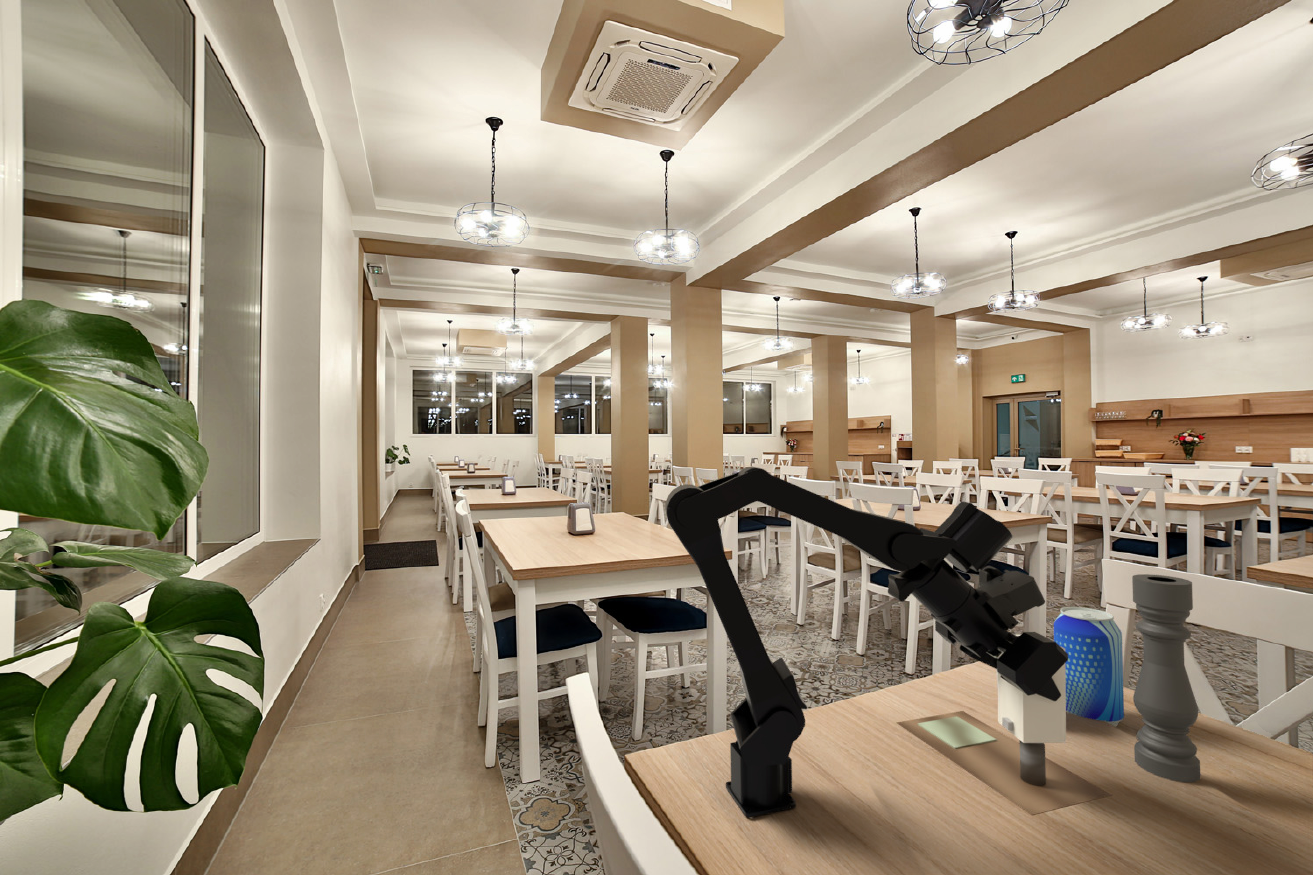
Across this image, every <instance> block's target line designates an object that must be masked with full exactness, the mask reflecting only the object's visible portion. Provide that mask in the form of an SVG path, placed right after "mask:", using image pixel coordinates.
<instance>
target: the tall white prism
mask: <svg viewBox="0 0 1313 875" xmlns="http://www.w3.org/2000/svg"><path fill="white" fill-rule="evenodd" d="M1015 635H1016V636H1020V635H1021V634H1015ZM1008 642H1009V641H1008ZM1060 647H1061V646H1060ZM1061 648H1062V649H1063V650H1064V651H1065V648H1063V647H1061ZM997 649H998V648H997ZM998 650H999V649H998ZM1000 651H1001V650H1000ZM1001 652H1002V653H1001V654H1000V655H999V657H1000V656H1001V655H1002V654H1003V653H1004V652H1003V651H1001ZM999 657H998V658H999ZM1000 676H1001V675H1000V674H999V673H998V687H997V723H998V724H1000V725H1001V726H1002V727H1004V728H1005V729H1006V730H1007V731H1009V733H1011V734H1012V735H1013V736H1014V737H1015V738H1016V739H1018V740H1020V741H1022V742H1023V743H1044V744H1066V743H1067V711H1066V674H1065V664H1064V665H1063V666H1062V667H1061V668H1060V669H1059V670H1058V671H1057V672H1056V673H1055V674H1054V675H1053V676H1052V679H1053V680H1054V682H1055V684H1056V686H1057V688H1058V690H1059V691H1060V693H1061V697H1060V698H1059V699H1058V700H1057V701H1052V700H1050V699H1047V698H1045V697H1042V696H1040V695H1037V694H1034V695H1029V696H1028V695H1026V694H1025V693H1023V692H1022V691H1020V690H1019V689H1017V688H1016V687H1014V686H1013V685H1011V684H1010V683H1008V682H1007V681H1005V680H1004V679H1002V678H1001V677H1000Z"/></svg>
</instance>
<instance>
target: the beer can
mask: <svg viewBox="0 0 1313 875" xmlns="http://www.w3.org/2000/svg"><path fill="white" fill-rule="evenodd" d="M1059 611H1060V613H1059V615H1058V616H1057V617H1056V619H1055V620H1054V623H1053V641H1054V642H1056V643H1057V644H1058V645H1059V646H1061V647H1063V648H1065V652H1066V653H1067V654H1068V661H1067V662H1066V663H1065V674H1066V713H1067V712H1068V713H1070V714H1072V715H1074V716H1075V715H1076V716H1078V717H1081V718H1086V719H1090V720H1095V721H1104V722H1106V723H1108V724H1110V725H1111V726H1113V727H1117V726H1118V725H1119V723H1120V722H1121V721H1123V719H1124V718H1125V707H1124V706H1125V704H1124V701H1125V700H1124V667H1123V666H1124V665H1123V664H1124V662H1123V661H1124V660H1123V633H1122V630H1121V629H1120V627H1119V626H1118V624H1117V622H1116V621H1115V620H1114V618H1115V617H1114V615H1113V614H1112V613H1109V612H1107V611H1104V610H1099V609H1094V608H1088V607H1082V606H1081V607H1080V606H1066V607H1062V608H1060V610H1059Z"/></svg>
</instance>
